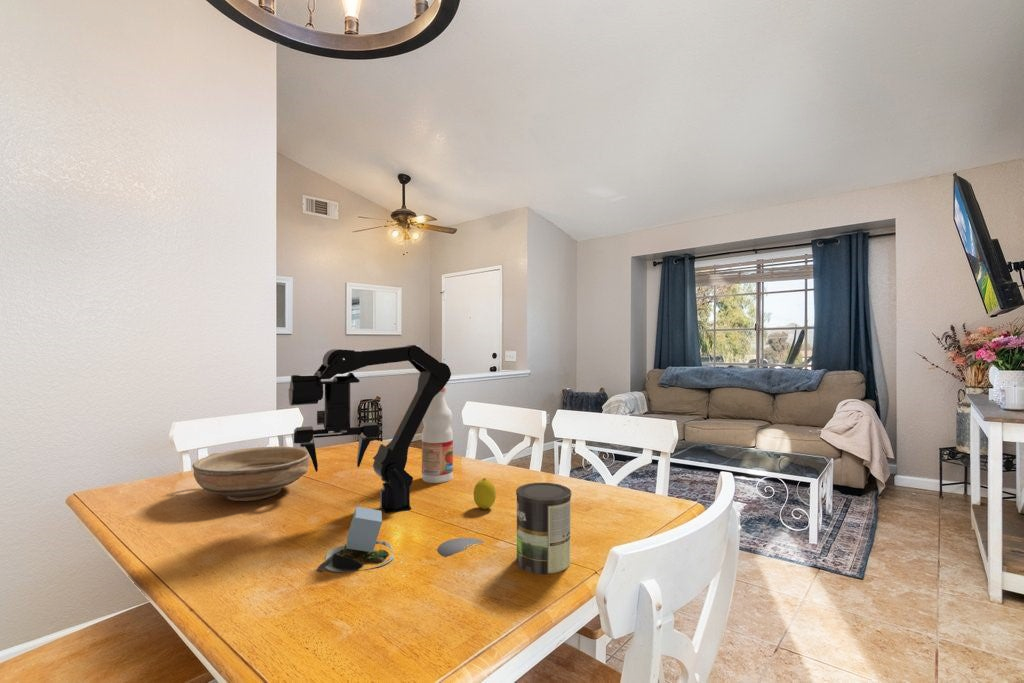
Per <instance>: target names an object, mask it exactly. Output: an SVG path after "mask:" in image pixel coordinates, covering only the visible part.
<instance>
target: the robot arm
mask: <svg viewBox="0 0 1024 683" xmlns="http://www.w3.org/2000/svg"><path fill="white" fill-rule="evenodd" d="M399 362H400V363H401V362H409V363H410V364H411V365H412V366H413V368H414V369H415V370H417V371H418V372H419V377H418V378H417V379H418V380H417V390H416V392H415V394H414V396H413V398H412V400H411V402H410V404H409V406H408V408H407V409H406V412H405V414H404V415H403V418H402V420H401V421H400V423H399V426H398V428H397V430H396V432H395V433H394V436H393V437H392V439H391V440H390V441H389V443H387V444H386V445H385V444H382V443H381V444H379V447H378V449H377V452H376V454H375V456H373V457H372V459H373V460H374V462H373V464H372V467H373V471H374V473H375V474H376V475H378V477H380V479H381V481H382V482H383V483H382V489H380V490H379V491H380V492H379V494H380V495H379V505H380V508H381V509H382V511H383V513H384V514H390V513H391V514H393V513H397V512H405V511H406V512H407V511H411V510H412V507H411V503H410V500H411V498H410V496H411V494H410V493H411V490H410V489H411V488H410V487H411V486H412V484H413V480H414V477H413V476H412V475H411V474H410V473H409V472H407V471H406V470H405V468H406V465H407V462H408V453H409V447H410V446H411V443H412V442H413V439H414V437H415V436H416V434H417V432H418V429H419V427H420V426H421V424H422V423H423V418H424V416H425V414H426V412H427V410H428V408H429V406H430V404H431V402H432V400H433V398H434V397H435V396H436V395H437V394H438V393H439V392H440V391H441V390H442V389H443V388H444V387H445V386H447V384H448V382H449V381H450V380H451V377H452V372H451V368H450V367H449V365H448V364H447V363H444V362H441V361H439V360H438V359H436V358H435V357H433V356H432V355H431V354H429V353H427V352H426V351H425V350H423V349H422V348H421V347H420V346H419V345H417V344H408V345H407V344H406V345H405V346H398V347H396V346H395V347H387V348H378V349H370V350H368V349H367V350H354V349H339V348H337V349H336V348H334V349H333V348H332V349H330V350H328V351H327V352H326V353H325V354H324V356H323V357H322V364H321V365H320V366H319V368H318V369H317V370H316V371H315V372H314V374H312V375H311V374H310V375H307V374H306V375H299V374H291V375H290V382H289V388H288V402H289V406H292V407H293V406H305V405H318V403H319V401H322V400H323V399H324V410H317V411H316V425H317V426H320V425H321V426H323V429H321V428H319V429H314V428H313V427H314V426H312V425H310V426H300V427H296V428H294V429H293V444H295V445H296V444H299V445H300V448H305V449H306V450H307V451H308V453H309V455H310V459H311V461H312V465H313V467H314V470H315V472H317V473H318V471H319V470H318V468H319V467H318V466H319V465H318V458H317V452H316V451H317V450H316V445H315V441H314V439H317V438H318V439H319V438H327V437H328V438H329V437H342V436H343V437H344V436H354V435H355V436H357V435H358V448H357V455H356V467H357V468H360V465H361V463H362V461H363V458H364V455H365V453H366V450H367V448H368V446H369V444H370V442H374V441H375V438H378V437H381V427H380V426H379V424H378V423H376V421H370V422H361V423H360V426H351V425H352V424H351V384H357V383H360V379H359V378H357V377H356V376H355V374H354V372H355V371H357V370H360V369H362V368H365V367H368V366H377V365H378V366H379V365H384V364H391V363H399ZM344 374H347V375H344ZM330 379H332V380H330ZM323 397H324V398H323Z"/></svg>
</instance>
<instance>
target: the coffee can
mask: <svg viewBox="0 0 1024 683" xmlns="http://www.w3.org/2000/svg"><path fill="white" fill-rule="evenodd" d="M515 494H516V565H517V566H518V567H519V568H520V569H521V570H523V571H525V570H526V571H525V572H527V571H528V573H530V572H532V573H531V574H535V573H536V574H537V573H538V574H537V575H553V574H552V573H555V574H558V573H557V572H559V573H562V572H564V571H565V570H567V569H568V568H570V566H571V505H572V504H571V499H572V498H571V497H572V490H571V489H570V488H569V487H567V486H565V485H563V484H558V483H552V482H531V483H526V484H523V485H521V486H519V487H517V488H516V489H515ZM563 570H564V571H563ZM561 571H562V572H561Z"/></svg>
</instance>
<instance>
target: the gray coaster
mask: <svg viewBox="0 0 1024 683" xmlns="http://www.w3.org/2000/svg"><path fill="white" fill-rule="evenodd" d="M477 543H481V544H478V545H475V546H474V547H477V546H479V545H482V544H485V542H484V541H483V540H480V539H478V538H474V537H473V538H471V537H460V538H458V537H457V538H452V539H449V540H446V541H444V542H441V543H440V544H439V545H438V547H437V553H438V554H439V555H440V556H442V557H444V558H448V557H450V556H451V557H452V556H454V555H456V554H458V553H461V552H464V551H466V550H468V549H467V547H470V546H472V545H473V544H477ZM470 544H471V545H470ZM467 545H469V546H467ZM464 547H465V548H464ZM472 548H473V546H472ZM469 549H471V547H470V548H469Z"/></svg>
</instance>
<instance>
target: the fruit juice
mask: <svg viewBox="0 0 1024 683" xmlns="http://www.w3.org/2000/svg"><path fill="white" fill-rule="evenodd" d="M446 391H447V390H446V387H445V386H444V388H443V389H442V390H441V391H440V392H439V393H438V394H437V395H436V396H435V397H434V398H433V400H432V402H431V404H430V406H429V408H428V410H427V412H426V414H425V416H424V418H423V420H422V424H423V429H422V432H421V479H422V481H423V482H425V483H429V484H440V483H441V484H442V483H447V482H449V481H451V480H453V477H454V476H453V475H454V433H453V428H452V422H453V412H452V411H451V409H450V407H449V406H448V404H447V401H446V398H445V394H446Z"/></svg>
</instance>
